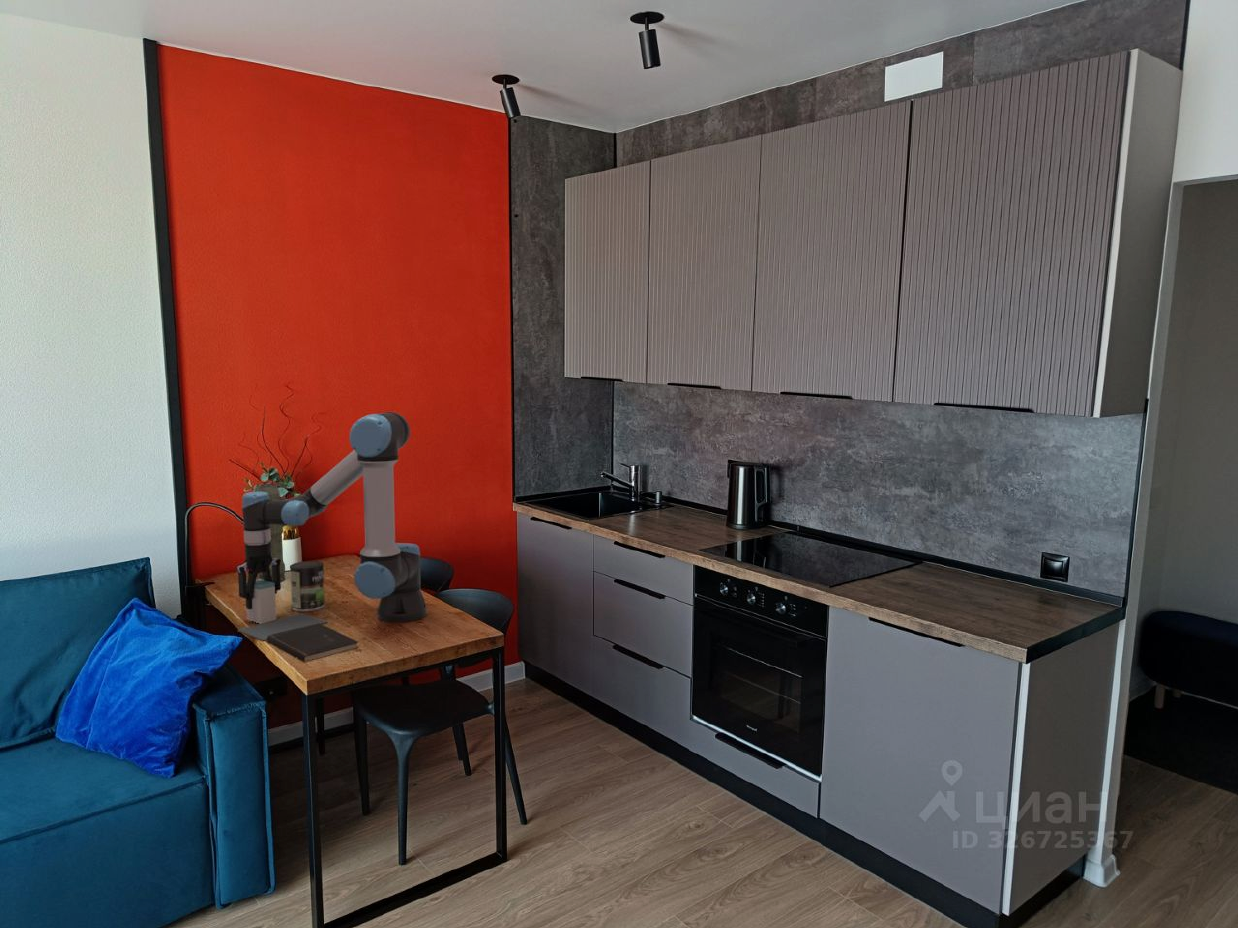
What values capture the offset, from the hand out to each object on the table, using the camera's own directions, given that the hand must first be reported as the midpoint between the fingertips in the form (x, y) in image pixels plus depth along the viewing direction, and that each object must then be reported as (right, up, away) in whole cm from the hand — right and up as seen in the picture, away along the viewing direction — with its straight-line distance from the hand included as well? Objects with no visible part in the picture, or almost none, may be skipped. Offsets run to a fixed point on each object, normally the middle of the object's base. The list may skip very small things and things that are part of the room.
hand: (261, 616), depth 263 cm
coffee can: (+9, 0, +14) cm, 17 cm away
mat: (+9, -2, -6) cm, 11 cm away
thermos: (-15, +5, +45) cm, 47 cm away
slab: (0, -1, 0) cm, 1 cm away
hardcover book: (+23, -5, -21) cm, 31 cm away
